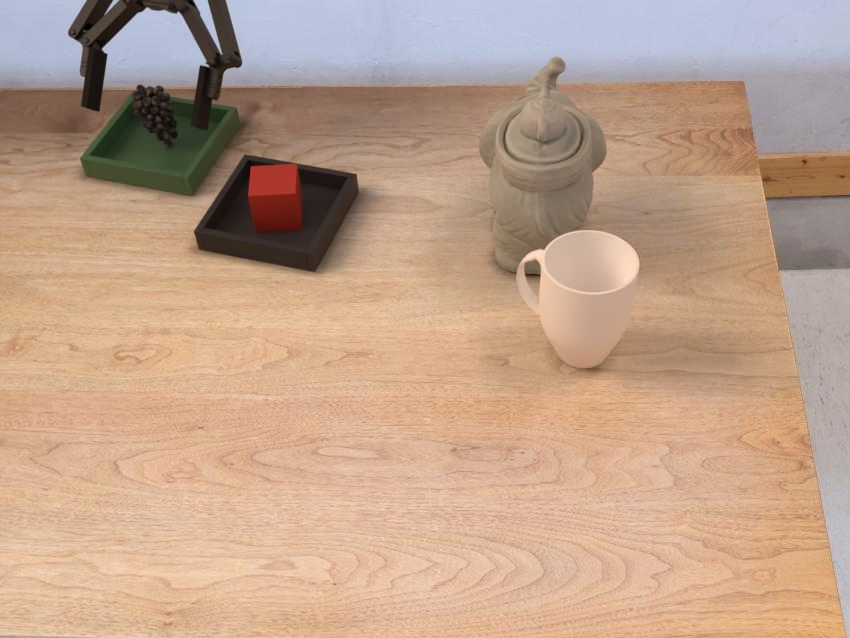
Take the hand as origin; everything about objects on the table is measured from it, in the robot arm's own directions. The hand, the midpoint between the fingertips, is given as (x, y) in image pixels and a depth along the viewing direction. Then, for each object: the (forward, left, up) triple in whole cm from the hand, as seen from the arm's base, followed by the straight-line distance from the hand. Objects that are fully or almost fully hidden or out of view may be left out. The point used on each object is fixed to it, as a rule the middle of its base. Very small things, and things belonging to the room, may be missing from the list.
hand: (143, 118), depth 126 cm
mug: (+53, -16, -6) cm, 56 cm away
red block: (+18, -6, -5) cm, 20 cm away
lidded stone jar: (+46, 0, -6) cm, 47 cm away
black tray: (+18, -6, -6) cm, 20 cm away
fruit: (0, +2, -6) cm, 6 cm away
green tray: (0, +2, -6) cm, 6 cm away
